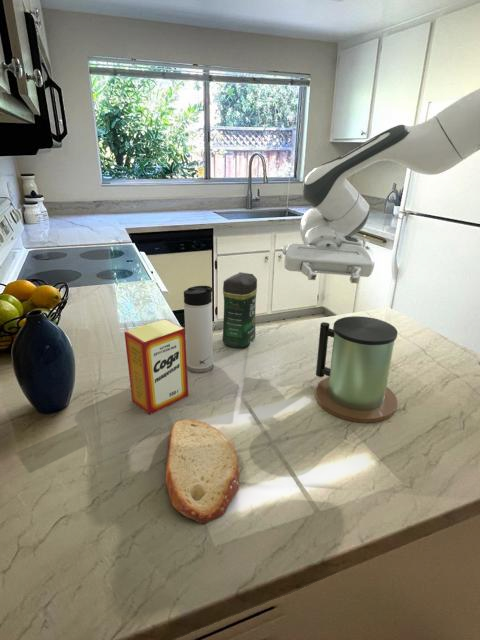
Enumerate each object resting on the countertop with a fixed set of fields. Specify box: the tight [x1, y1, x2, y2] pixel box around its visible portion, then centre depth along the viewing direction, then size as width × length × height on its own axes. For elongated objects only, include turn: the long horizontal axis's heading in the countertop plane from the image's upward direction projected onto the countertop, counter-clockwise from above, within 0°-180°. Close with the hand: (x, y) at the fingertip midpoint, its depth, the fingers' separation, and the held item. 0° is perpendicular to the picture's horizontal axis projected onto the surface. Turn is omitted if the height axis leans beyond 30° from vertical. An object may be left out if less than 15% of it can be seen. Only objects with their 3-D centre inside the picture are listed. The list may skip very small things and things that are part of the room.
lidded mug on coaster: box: [314, 315, 398, 424], centre depth 79 cm, size 16×18×16 cm
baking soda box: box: [123, 318, 189, 415], centre depth 81 cm, size 10×6×16 cm
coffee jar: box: [222, 271, 258, 349], centre depth 106 cm, size 10×8×19 cm
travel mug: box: [183, 285, 214, 374], centre depth 92 cm, size 6×7×20 cm
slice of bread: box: [165, 419, 240, 524], centre depth 65 cm, size 18×18×4 cm
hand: (334, 279), depth 87 cm, fingers open, 8 cm apart
